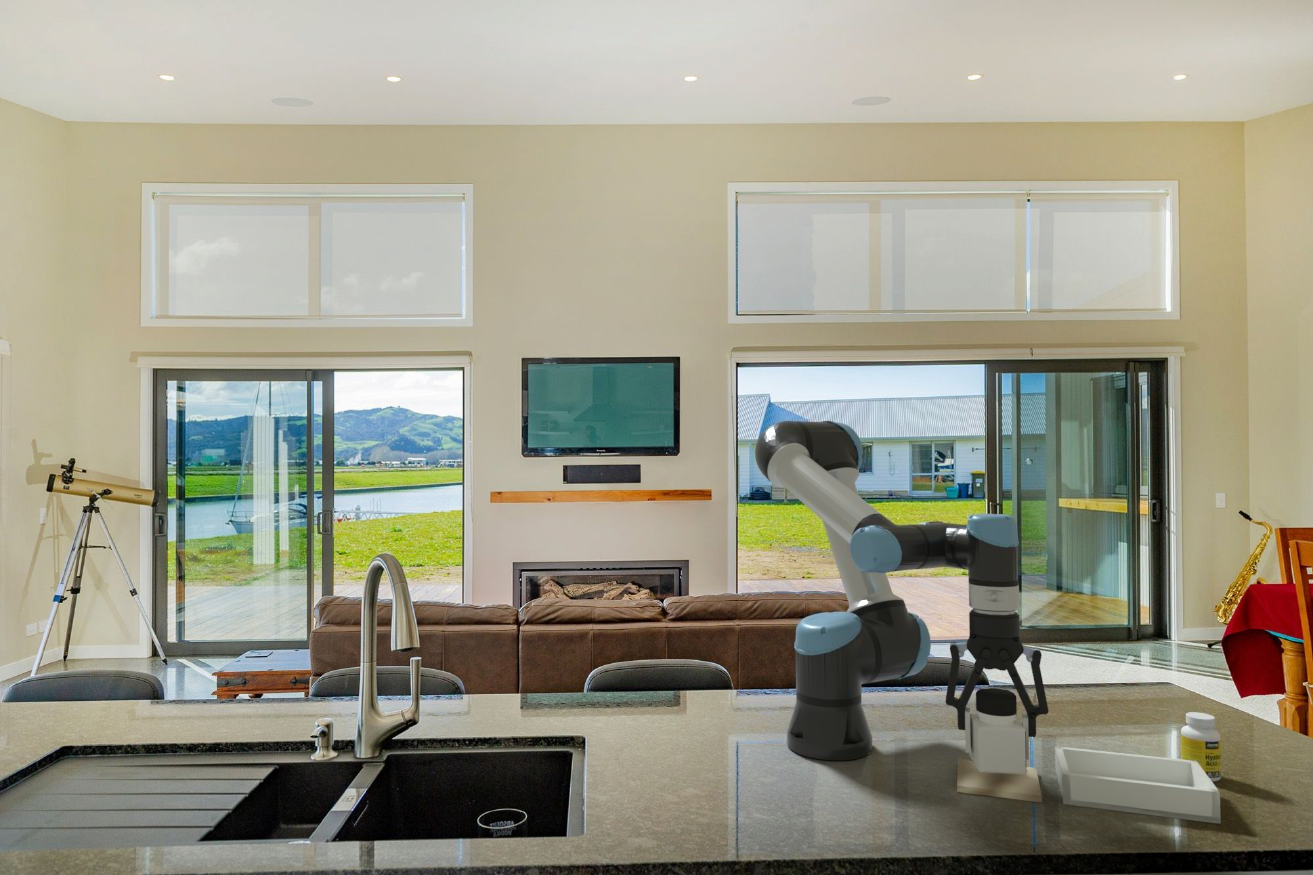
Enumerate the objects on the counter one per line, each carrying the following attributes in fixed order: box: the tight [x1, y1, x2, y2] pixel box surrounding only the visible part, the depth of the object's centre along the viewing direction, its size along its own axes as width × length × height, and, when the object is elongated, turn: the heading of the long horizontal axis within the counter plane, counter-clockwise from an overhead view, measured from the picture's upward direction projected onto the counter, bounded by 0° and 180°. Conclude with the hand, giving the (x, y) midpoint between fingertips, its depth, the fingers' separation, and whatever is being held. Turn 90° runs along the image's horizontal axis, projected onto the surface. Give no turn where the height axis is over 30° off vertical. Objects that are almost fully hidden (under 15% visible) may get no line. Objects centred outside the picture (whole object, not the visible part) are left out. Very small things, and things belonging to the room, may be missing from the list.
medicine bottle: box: [968, 686, 1027, 774], centre depth 132 cm, size 7×7×12 cm
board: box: [956, 758, 1043, 803], centre depth 132 cm, size 12×12×1 cm
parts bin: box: [1054, 745, 1222, 825], centre depth 126 cm, size 20×13×4 cm, turn 69°
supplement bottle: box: [1180, 711, 1222, 783], centre depth 134 cm, size 5×5×10 cm
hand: (996, 753), depth 132 cm, fingers closed on medicine bottle, 8 cm apart
